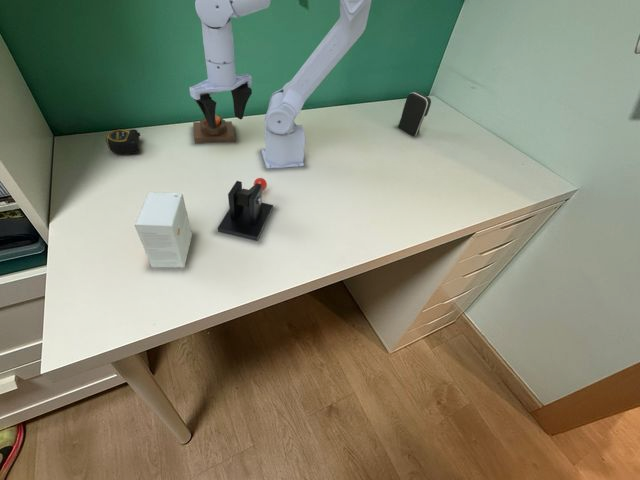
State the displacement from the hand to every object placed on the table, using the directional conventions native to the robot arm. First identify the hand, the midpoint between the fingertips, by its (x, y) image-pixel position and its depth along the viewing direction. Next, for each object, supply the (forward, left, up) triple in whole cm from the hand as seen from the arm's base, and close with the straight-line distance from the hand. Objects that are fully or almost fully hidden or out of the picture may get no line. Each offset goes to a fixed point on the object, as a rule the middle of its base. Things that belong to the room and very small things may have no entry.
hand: (225, 122), depth 76 cm
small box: (+13, +31, -9) cm, 34 cm away
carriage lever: (-3, +21, -5) cm, 22 cm away
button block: (+3, -9, -8) cm, 13 cm away
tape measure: (+23, -4, -9) cm, 25 cm away
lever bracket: (-1, +25, -8) cm, 26 cm away
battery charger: (-56, -8, -9) cm, 57 cm away
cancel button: (+3, -9, -5) cm, 11 cm away
